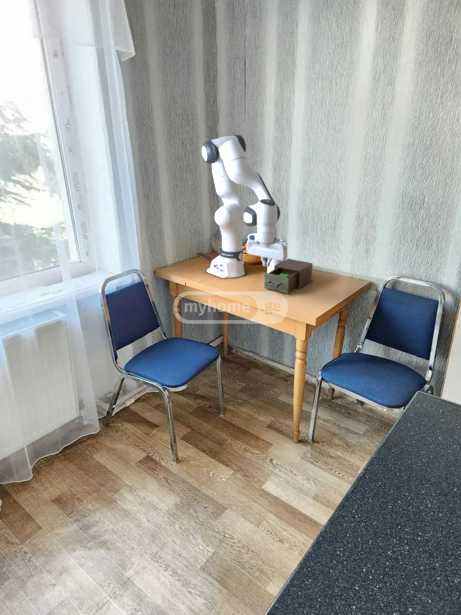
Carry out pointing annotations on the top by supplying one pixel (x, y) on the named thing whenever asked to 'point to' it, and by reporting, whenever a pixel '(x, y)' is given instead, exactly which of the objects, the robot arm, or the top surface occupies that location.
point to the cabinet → (298, 270)
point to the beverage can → (273, 265)
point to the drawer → (281, 280)
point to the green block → (284, 275)
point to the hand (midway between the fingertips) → (266, 266)
